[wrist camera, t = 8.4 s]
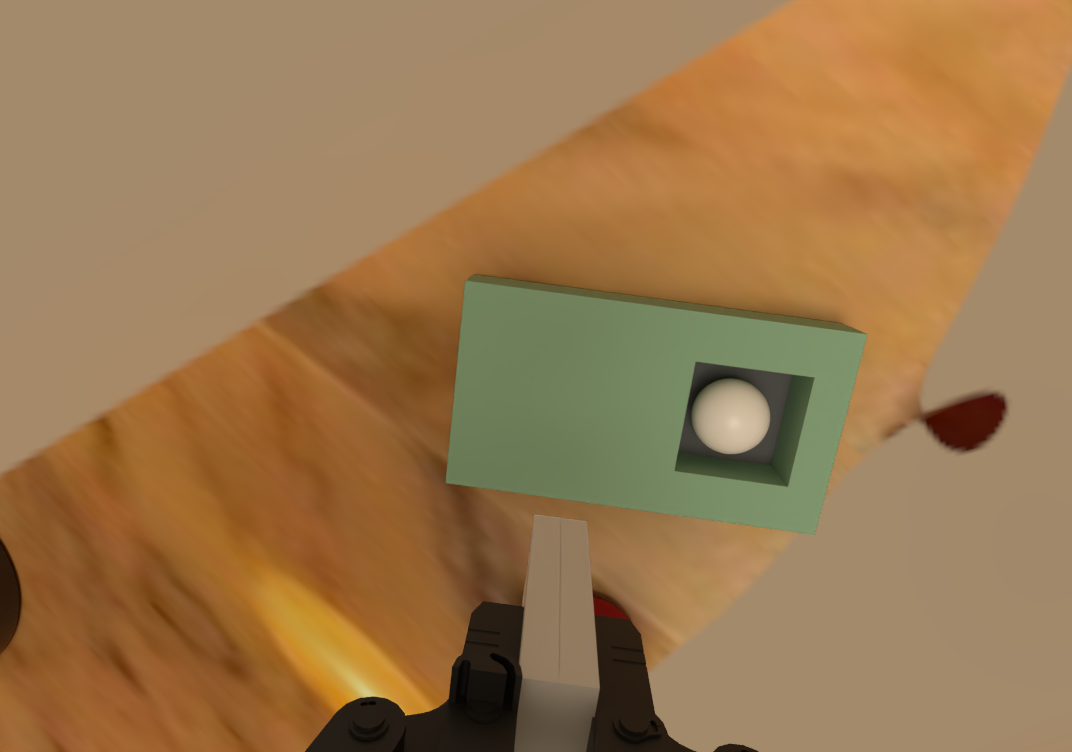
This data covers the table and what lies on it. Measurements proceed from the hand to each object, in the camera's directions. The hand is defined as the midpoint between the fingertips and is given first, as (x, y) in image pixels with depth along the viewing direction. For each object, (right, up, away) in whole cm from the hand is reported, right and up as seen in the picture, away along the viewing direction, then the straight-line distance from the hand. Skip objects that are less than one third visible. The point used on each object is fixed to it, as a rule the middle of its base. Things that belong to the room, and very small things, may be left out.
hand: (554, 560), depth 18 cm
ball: (+10, +3, +16) cm, 19 cm away
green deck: (+5, +4, +18) cm, 19 cm away
